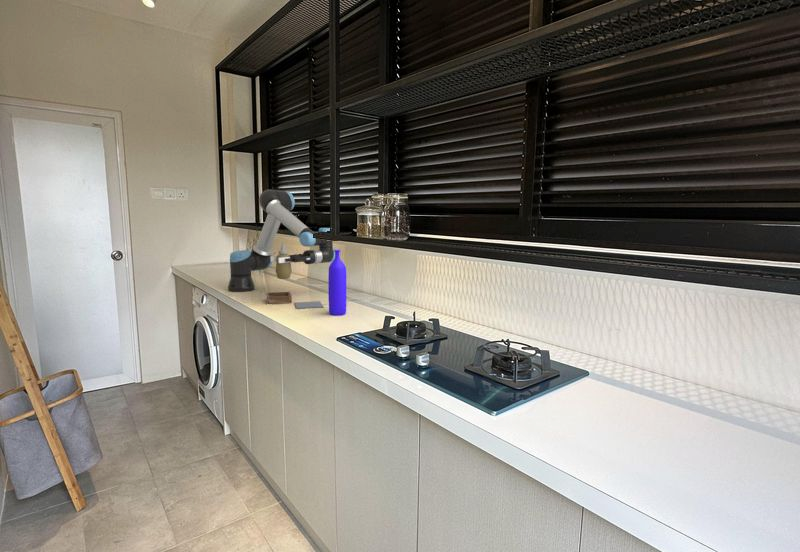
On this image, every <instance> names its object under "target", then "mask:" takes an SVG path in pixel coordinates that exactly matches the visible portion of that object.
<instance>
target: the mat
mask: <svg viewBox="0 0 800 552" xmlns="http://www.w3.org/2000/svg"><path fill="white" fill-rule="evenodd" d="M294 305H295V308H296V310H304V309H305V310H306V308H308V309H321V308H323V309H324V305H323V303H322V302H321V301H319V300H318V301H317V300H316V301H300V302H299V301H298V302H297V301H295V302H294Z"/></svg>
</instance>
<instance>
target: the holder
mask: <svg viewBox="0 0 800 552" xmlns="http://www.w3.org/2000/svg"><path fill="white" fill-rule="evenodd" d="M290 303H293V302H292V294H291V292H290V291H276V292H266V305H267V304H272V305H286V304H287V305H288V304H290Z"/></svg>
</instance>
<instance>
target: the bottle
mask: <svg viewBox="0 0 800 552" xmlns="http://www.w3.org/2000/svg"><path fill="white" fill-rule="evenodd" d="M334 251H335V259H334V261H333V262H330V265H329V267H328V277H327V278H328V284H327V285H328V314H329V315H330V316H337V317H338V316H340V317H341V316H345V315H346V314H347V266H346V265H345V264H344V262H343V260H341V257H340V256H341V255H340V252H341V249H335V250H334Z"/></svg>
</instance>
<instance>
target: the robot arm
mask: <svg viewBox="0 0 800 552" xmlns="http://www.w3.org/2000/svg"><path fill="white" fill-rule="evenodd" d="M258 203H259V206H260V208H261V209H262V210H263V211H264V212H265V213H267V215H266V219H265V221H264V223H263V226H262V229H261V232H260V234H259V238H258V240H257V243H256V245H253V246H252V248H251V250H248V249H242V250H236V251H233V252H231V253H229V267H230V272H229V273H230V278H229V282H228V284H227V290H228V291H229V292H236V293H237V292H238V293H239V292H241V293H242V292H251V291H254V290H255V289H256V286H255V283H254V280H253V277H252V271H263V270H266V269H268V268H270V266H271V265H272V263H275V262H276V260H277V255H274V256H273V255H272V251H271V248H272V246H273V243H274V240H275V238H276V236H277V233H278V231H279V228H280V226H281V224H282V225H283V226H284V227H285V228H287V229H288V230H289V231H290V232H292V233H293V234H294V236H296V237H297V238H298V240H299V242H300V244H301V245H302V246H303V247H314V246H315V247H317V246H318V249H310V250H309V249H307V250H304V251H303V253H298V254H297V253H296V254H288V255H289V256H290V257H281V258H278V263H288V262H291V263H301V262H302V263H304V264H305V265H312V264H313V265H314V264H315V265H318V264H323V263H332V262H333V261H334V259H335V251H334V250H336V249H335V248H333V246H334V245H333V243H334V242H332V241H327V240H322V239H317V238H313V234H314V233H318V232H327V231H330V228H331V227H320V228H319V229H318V231H313V230H312V229H311V228H309V226H307V225H306V224H304V222H302V221H301V220H300V219H299V218H298V217H296V216H295V215H294V214H293V213H291V211H292V210H293V209H294V207H295V204H296V200H295V199H294V195H293V194H292V193H291V192H290V191H287V190H285V189H284V190H280V189H265V190H264V191H262V192H261V193H260V194H259V198H258Z"/></svg>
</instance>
